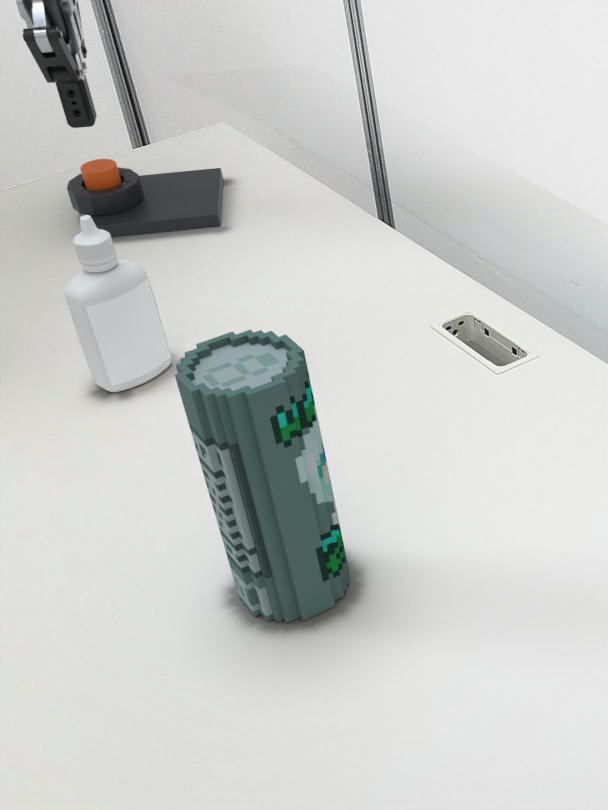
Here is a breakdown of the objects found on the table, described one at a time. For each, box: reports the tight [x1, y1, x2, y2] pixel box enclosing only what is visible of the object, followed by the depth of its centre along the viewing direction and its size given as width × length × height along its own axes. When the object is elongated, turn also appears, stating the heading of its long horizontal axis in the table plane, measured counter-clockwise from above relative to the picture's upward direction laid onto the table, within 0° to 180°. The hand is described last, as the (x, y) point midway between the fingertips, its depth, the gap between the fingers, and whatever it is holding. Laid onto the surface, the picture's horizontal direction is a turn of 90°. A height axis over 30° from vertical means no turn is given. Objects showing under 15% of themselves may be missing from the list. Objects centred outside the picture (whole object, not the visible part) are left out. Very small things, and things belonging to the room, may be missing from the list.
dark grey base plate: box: [66, 166, 224, 239], centre depth 109 cm, size 12×10×3 cm
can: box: [174, 329, 351, 624], centre depth 67 cm, size 6×6×15 cm
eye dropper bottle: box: [64, 214, 173, 393], centre depth 85 cm, size 4×6×12 cm
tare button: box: [79, 158, 122, 190], centre depth 107 cm, size 3×3×2 cm
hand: (83, 123), depth 104 cm, fingers closed
